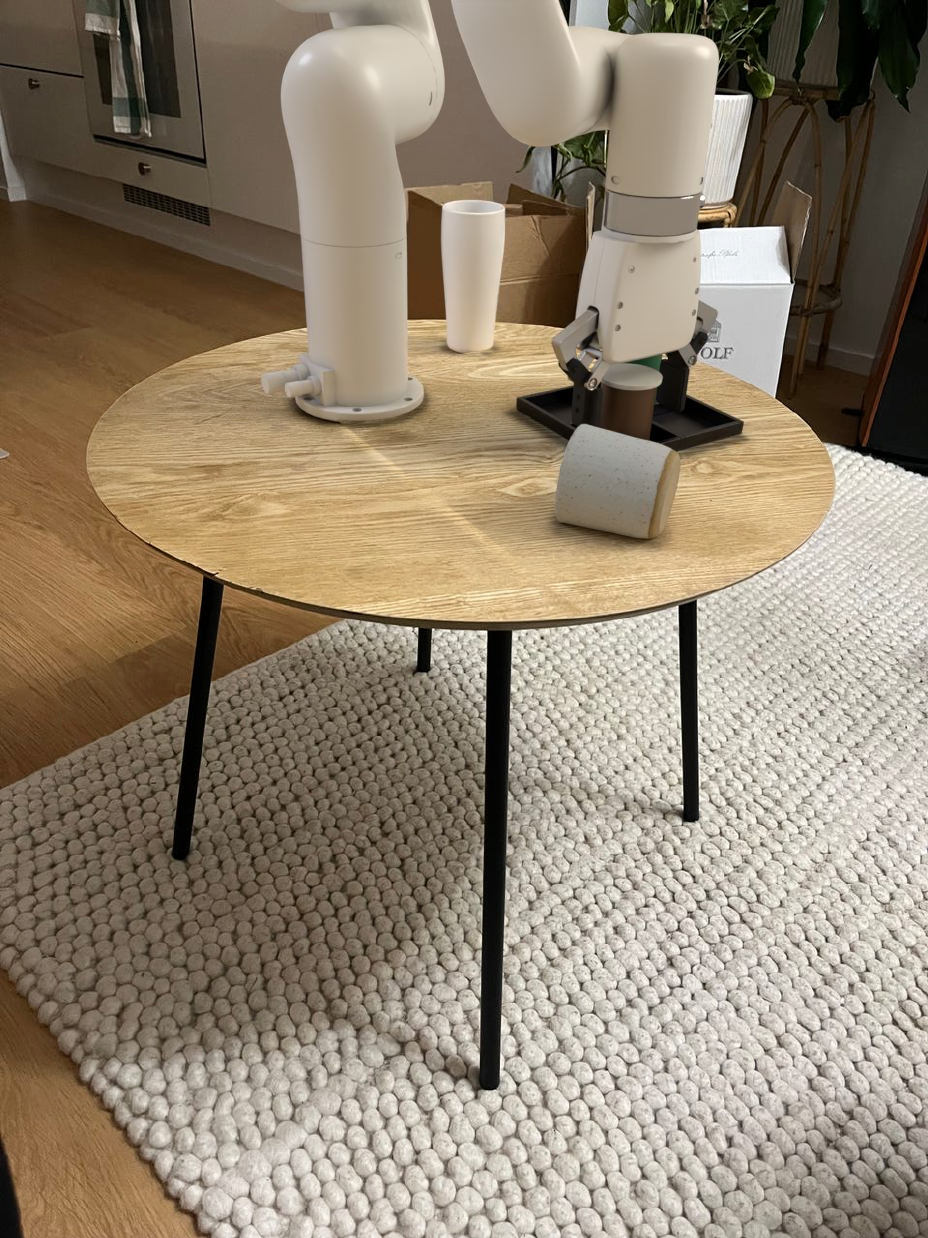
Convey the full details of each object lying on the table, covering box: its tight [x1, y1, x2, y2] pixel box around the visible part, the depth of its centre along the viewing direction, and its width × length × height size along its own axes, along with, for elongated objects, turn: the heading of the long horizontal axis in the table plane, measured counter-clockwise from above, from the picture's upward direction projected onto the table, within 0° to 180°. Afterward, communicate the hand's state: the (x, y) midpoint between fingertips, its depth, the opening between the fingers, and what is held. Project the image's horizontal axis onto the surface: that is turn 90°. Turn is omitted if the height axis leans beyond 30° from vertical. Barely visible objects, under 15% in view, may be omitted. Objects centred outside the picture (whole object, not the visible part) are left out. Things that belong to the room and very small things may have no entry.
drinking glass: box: [440, 199, 506, 354], centre depth 108 cm, size 7×7×15 cm
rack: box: [515, 382, 745, 453], centre depth 94 cm, size 15×15×2 cm
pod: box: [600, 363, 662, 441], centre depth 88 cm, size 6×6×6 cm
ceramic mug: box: [554, 424, 682, 540], centre depth 77 cm, size 11×8×8 cm
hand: (628, 417), depth 89 cm, fingers open, 9 cm apart
